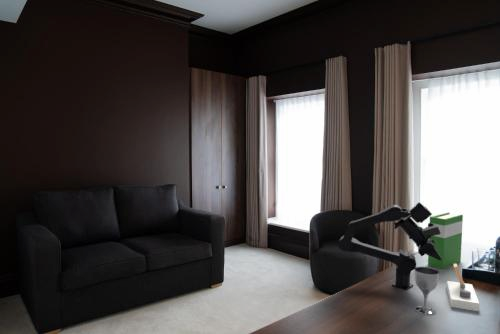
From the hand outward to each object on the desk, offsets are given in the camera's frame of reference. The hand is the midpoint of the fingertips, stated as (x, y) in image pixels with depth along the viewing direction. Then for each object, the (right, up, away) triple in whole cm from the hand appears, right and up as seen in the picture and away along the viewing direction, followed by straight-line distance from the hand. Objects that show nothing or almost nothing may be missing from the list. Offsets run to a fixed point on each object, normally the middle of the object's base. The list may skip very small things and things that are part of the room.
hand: (440, 259), depth 152 cm
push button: (+4, -11, -11) cm, 16 cm away
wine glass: (-14, -15, -16) cm, 26 cm away
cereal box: (+20, -11, +35) cm, 41 cm away
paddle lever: (+7, -9, -2) cm, 12 cm away
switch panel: (+6, -14, -6) cm, 16 cm away
